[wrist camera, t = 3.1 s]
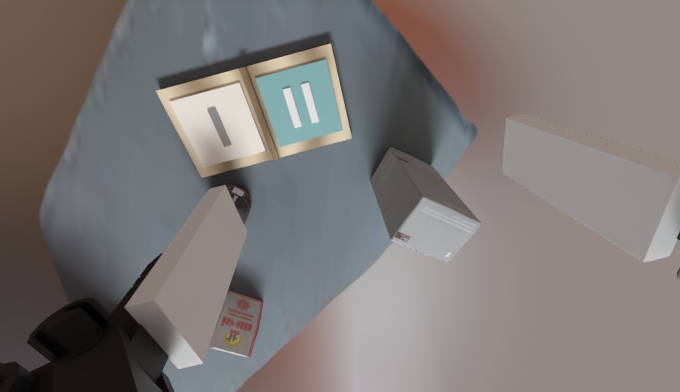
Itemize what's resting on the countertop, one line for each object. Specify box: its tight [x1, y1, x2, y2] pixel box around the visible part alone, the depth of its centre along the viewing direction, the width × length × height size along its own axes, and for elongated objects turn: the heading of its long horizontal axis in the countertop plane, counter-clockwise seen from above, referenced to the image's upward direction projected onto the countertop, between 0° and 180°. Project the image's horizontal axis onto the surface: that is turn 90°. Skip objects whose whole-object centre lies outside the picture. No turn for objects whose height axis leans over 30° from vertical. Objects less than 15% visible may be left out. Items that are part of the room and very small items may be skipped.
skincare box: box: [370, 147, 481, 262], centre depth 37 cm, size 8×7×16 cm
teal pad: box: [255, 59, 343, 147], centre depth 36 cm, size 9×9×1 cm
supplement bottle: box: [222, 184, 251, 224], centre depth 38 cm, size 6×6×11 cm
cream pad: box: [169, 83, 266, 167], centre depth 36 cm, size 9×9×1 cm
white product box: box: [209, 290, 263, 358], centre depth 48 cm, size 4×7×10 cm, turn 57°
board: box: [156, 44, 352, 178], centre depth 37 cm, size 22×12×2 cm, turn 104°
